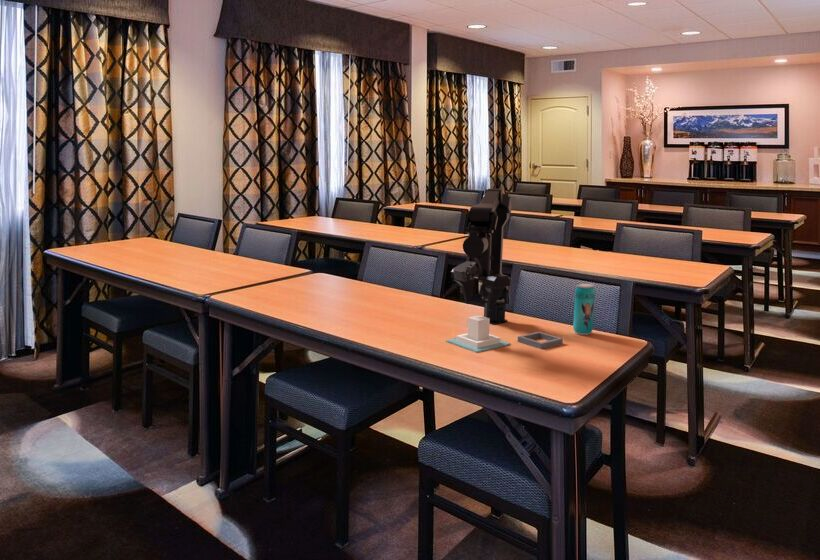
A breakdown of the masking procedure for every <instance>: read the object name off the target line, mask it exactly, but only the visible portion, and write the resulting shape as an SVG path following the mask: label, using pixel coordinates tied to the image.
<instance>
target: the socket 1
mask: <svg viewBox="0 0 820 560" xmlns="http://www.w3.org/2000/svg"><path fill="white" fill-rule="evenodd" d="M445 342H447V343H448V344H450V345H451V344H452V345H455V346H457V347H459V348H463V349H465V350H468V351H471V352H474V353H475V354H476V353H481V352H482V353H483V352H486V351H489V350H493V349H494V350H495V349H498V348H502V347H506V346H507V347H508V346H511V343H510V342H507V341H504V340H501V337H500V336H496V335H494V334H490V333H489V339H487V340H482V341H478V342H477V341H474V340H471V339H469V338H467V332H466V333H461V334H457V335H455V338H449V339H445Z"/></svg>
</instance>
